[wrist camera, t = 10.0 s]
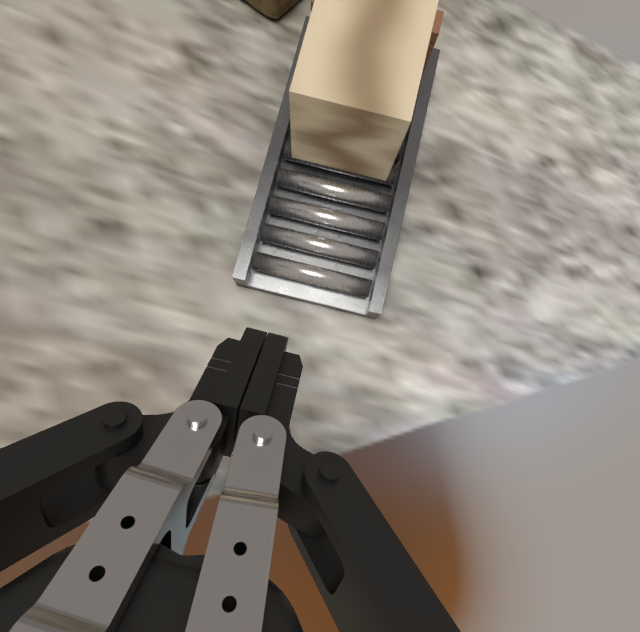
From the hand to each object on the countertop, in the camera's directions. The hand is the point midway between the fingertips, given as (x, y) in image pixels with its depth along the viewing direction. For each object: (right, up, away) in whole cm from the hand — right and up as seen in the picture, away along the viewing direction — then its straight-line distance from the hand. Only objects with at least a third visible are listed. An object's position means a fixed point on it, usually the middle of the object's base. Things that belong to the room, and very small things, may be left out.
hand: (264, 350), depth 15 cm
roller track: (+4, +14, +22) cm, 27 cm away
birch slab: (+5, +18, +20) cm, 28 cm away
